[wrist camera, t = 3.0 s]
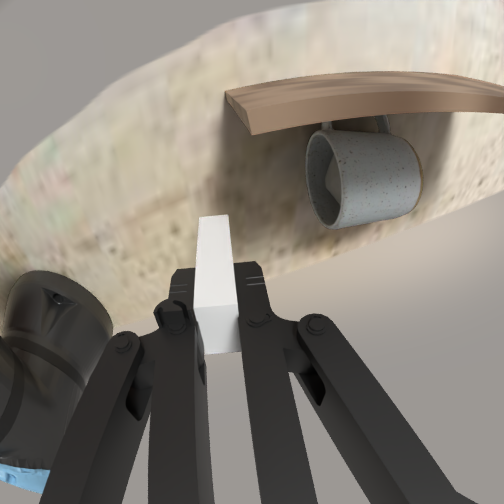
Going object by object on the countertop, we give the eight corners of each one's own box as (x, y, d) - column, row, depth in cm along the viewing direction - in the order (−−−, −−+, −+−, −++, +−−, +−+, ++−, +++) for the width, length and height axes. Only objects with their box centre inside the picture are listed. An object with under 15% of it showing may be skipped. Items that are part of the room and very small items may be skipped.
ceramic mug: (380, 196, 27) (423, 234, 21) (304, 204, 27) (334, 248, 20) (385, 92, 21) (440, 104, 15) (300, 89, 21) (338, 94, 14)
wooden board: (228, 103, 21) (254, 144, 8) (224, 91, 20) (246, 110, 8) (457, 84, 20) (574, 127, 8) (456, 75, 20) (575, 113, 7)
